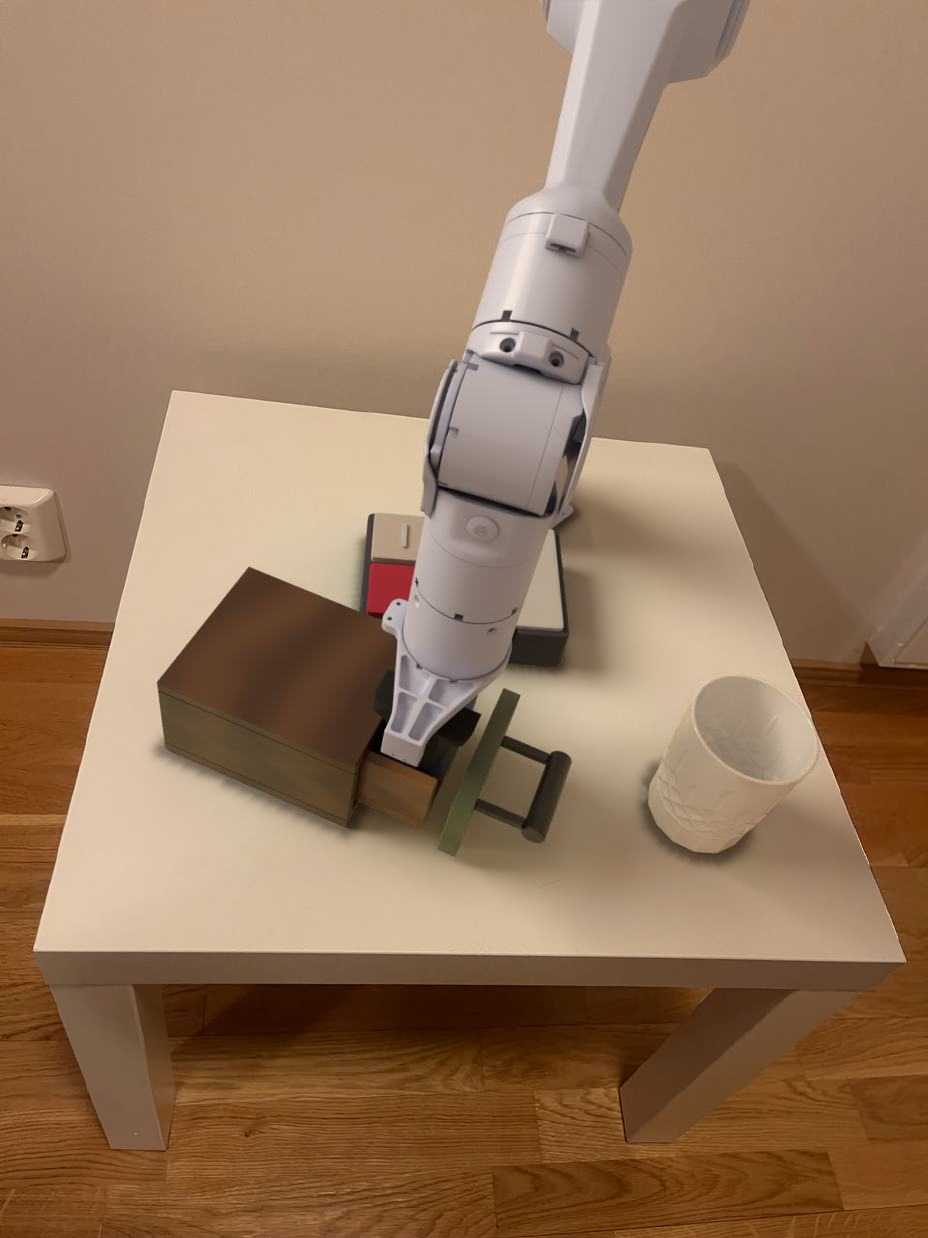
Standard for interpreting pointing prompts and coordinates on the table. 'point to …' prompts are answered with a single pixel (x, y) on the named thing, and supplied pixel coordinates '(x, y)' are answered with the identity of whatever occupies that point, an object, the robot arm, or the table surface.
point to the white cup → (731, 762)
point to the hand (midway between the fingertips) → (430, 731)
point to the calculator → (393, 571)
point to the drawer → (463, 783)
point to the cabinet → (280, 693)
